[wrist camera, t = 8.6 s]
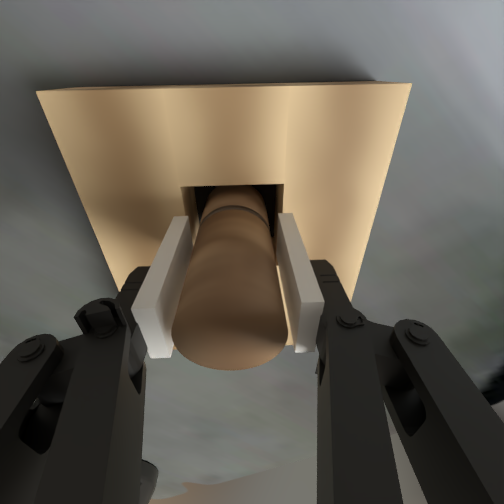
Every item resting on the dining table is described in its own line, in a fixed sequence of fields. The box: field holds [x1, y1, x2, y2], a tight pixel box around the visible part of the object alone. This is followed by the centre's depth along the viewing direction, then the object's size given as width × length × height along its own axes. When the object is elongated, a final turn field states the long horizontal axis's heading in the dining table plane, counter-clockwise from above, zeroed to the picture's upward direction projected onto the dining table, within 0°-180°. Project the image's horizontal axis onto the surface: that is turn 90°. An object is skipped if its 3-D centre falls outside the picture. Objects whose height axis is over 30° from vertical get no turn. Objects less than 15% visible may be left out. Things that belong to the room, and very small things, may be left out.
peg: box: [171, 185, 288, 370], centre depth 13 cm, size 4×4×10 cm
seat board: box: [36, 81, 412, 351], centre depth 18 cm, size 16×18×4 cm
